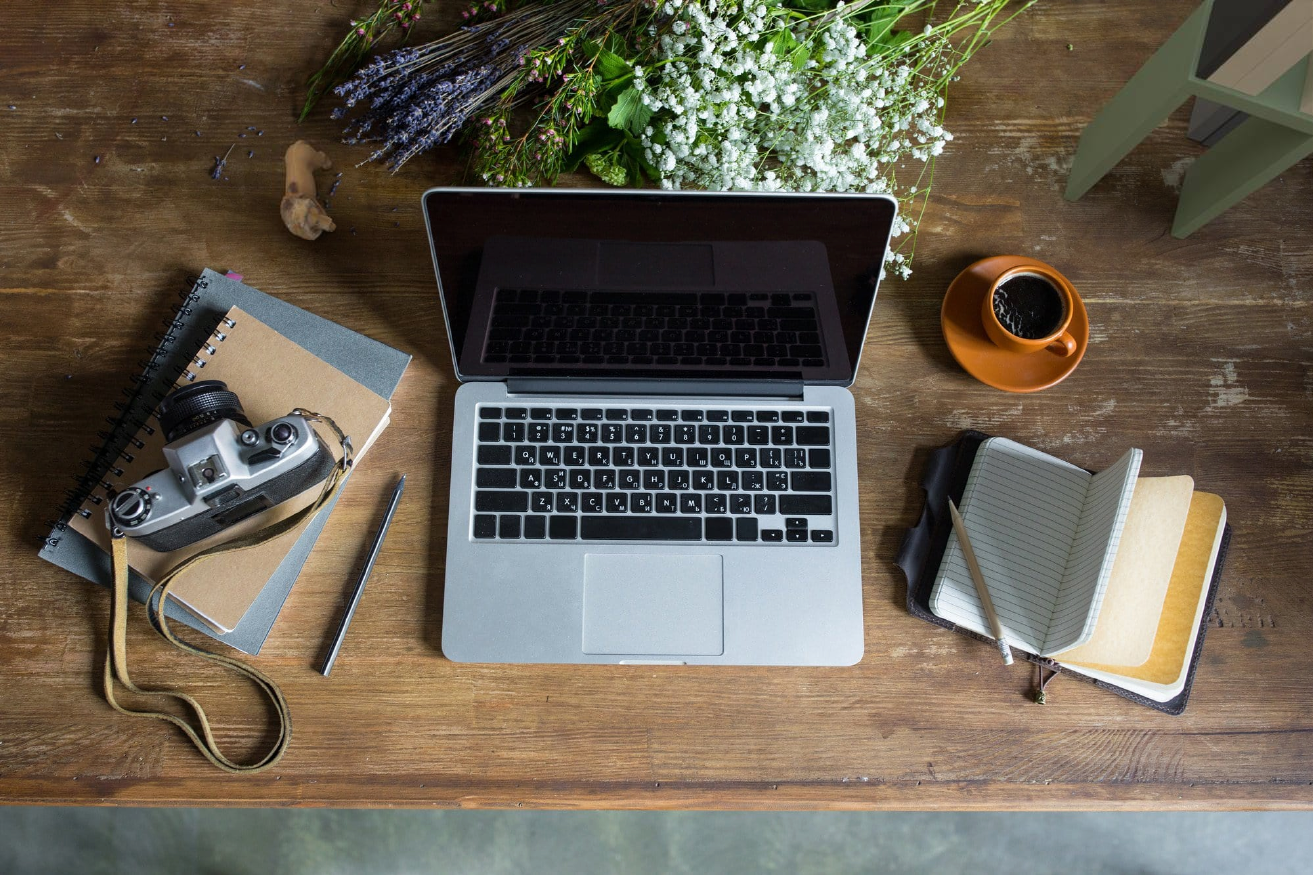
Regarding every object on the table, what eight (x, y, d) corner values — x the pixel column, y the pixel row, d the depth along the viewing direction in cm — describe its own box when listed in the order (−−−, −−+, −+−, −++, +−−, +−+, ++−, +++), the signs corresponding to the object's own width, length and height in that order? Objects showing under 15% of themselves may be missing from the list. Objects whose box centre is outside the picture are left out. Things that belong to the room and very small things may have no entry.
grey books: (1230, 90, 100) (1310, 21, 88) (1216, 150, 98) (1296, 87, 86) (1199, 80, 100) (1275, 10, 88) (1185, 139, 98) (1260, 75, 87)
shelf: (1198, 170, 97) (1360, 45, 76) (1182, 240, 95) (1343, 132, 74) (1082, 130, 98) (1209, -5, 77) (1062, 198, 96) (1188, 79, 74)
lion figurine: (354, 256, 91) (325, 218, 82) (308, 267, 91) (274, 231, 82) (329, 146, 94) (298, 98, 85) (284, 156, 94) (249, 109, 85)
